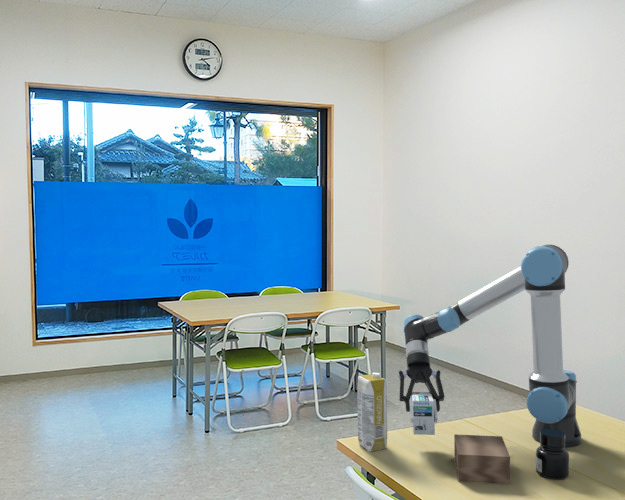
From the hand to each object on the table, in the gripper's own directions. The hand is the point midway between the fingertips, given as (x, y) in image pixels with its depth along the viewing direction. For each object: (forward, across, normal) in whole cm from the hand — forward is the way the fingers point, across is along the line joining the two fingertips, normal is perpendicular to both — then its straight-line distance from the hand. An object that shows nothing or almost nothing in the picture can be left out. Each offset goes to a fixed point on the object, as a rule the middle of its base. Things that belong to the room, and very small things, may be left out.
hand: (424, 420), depth 192 cm
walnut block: (+16, -15, 0) cm, 22 cm away
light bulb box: (+1, 0, -6) cm, 6 cm away
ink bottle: (+17, -35, 0) cm, 39 cm away
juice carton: (+3, +16, -12) cm, 20 cm away
